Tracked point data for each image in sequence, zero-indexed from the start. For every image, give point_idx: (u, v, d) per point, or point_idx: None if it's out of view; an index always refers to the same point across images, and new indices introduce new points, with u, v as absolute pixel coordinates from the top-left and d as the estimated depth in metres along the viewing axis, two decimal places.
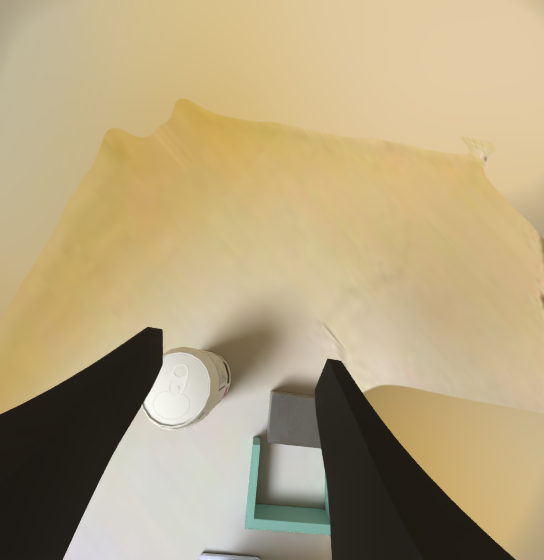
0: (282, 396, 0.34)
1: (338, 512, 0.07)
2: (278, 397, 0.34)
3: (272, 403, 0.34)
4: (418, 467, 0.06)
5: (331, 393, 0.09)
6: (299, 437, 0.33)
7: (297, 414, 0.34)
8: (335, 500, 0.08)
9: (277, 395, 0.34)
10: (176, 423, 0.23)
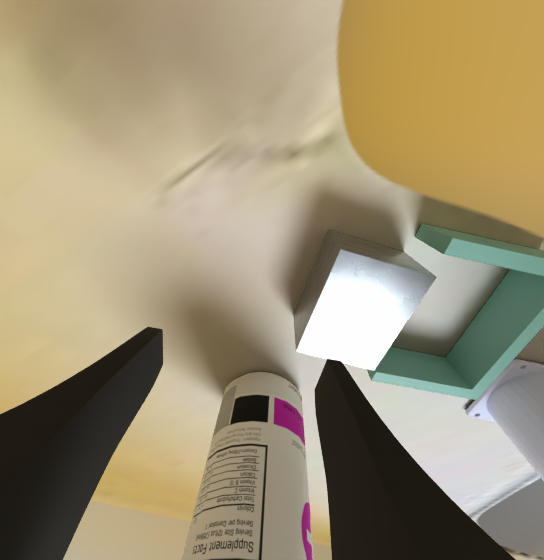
0: (305, 336, 0.16)
1: (338, 512, 0.07)
2: (305, 343, 0.17)
3: (312, 353, 0.17)
4: (418, 467, 0.06)
5: (331, 393, 0.09)
6: (389, 322, 0.16)
7: (348, 317, 0.16)
8: (335, 500, 0.08)
9: (301, 343, 0.17)
10: None
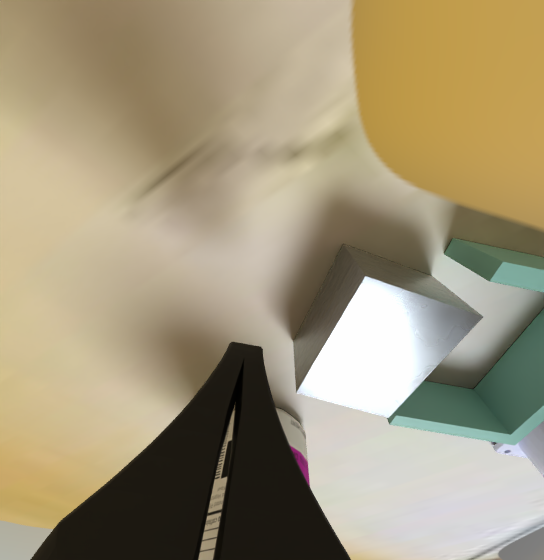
0: (309, 376, 0.13)
1: (224, 496, 0.07)
2: (308, 384, 0.13)
3: (316, 396, 0.14)
4: (286, 447, 0.06)
5: (241, 378, 0.09)
6: (415, 366, 0.13)
7: (365, 357, 0.12)
8: (226, 484, 0.07)
9: (303, 383, 0.14)
10: None
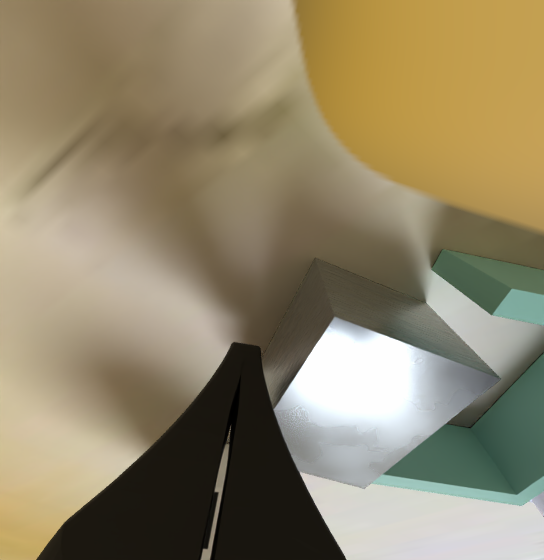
0: None
1: (221, 496, 0.07)
2: None
3: None
4: (282, 446, 0.06)
5: None
6: (402, 434, 0.09)
7: (334, 421, 0.09)
8: None
9: None
10: None
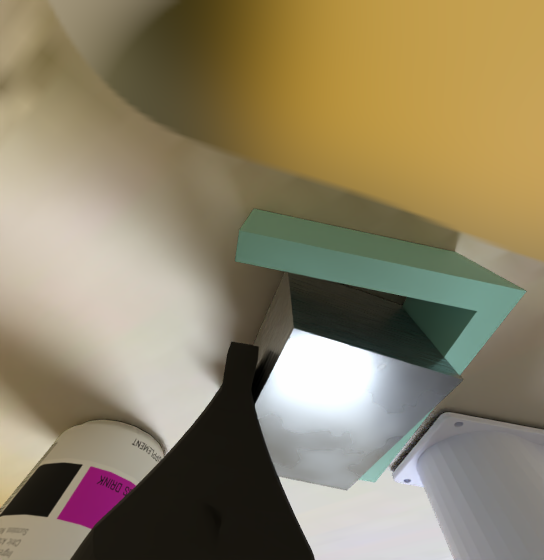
0: None
1: None
2: None
3: None
4: (260, 443, 0.06)
5: None
6: (376, 436, 0.09)
7: (308, 426, 0.09)
8: None
9: None
10: None
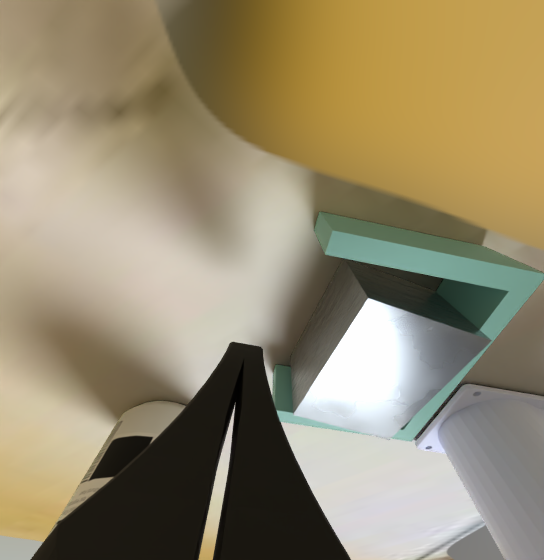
0: (306, 399, 0.12)
1: (224, 496, 0.07)
2: (305, 406, 0.13)
3: (314, 418, 0.13)
4: (286, 447, 0.06)
5: (241, 378, 0.09)
6: (419, 389, 0.12)
7: (366, 380, 0.12)
8: (226, 485, 0.07)
9: (300, 405, 0.13)
10: None
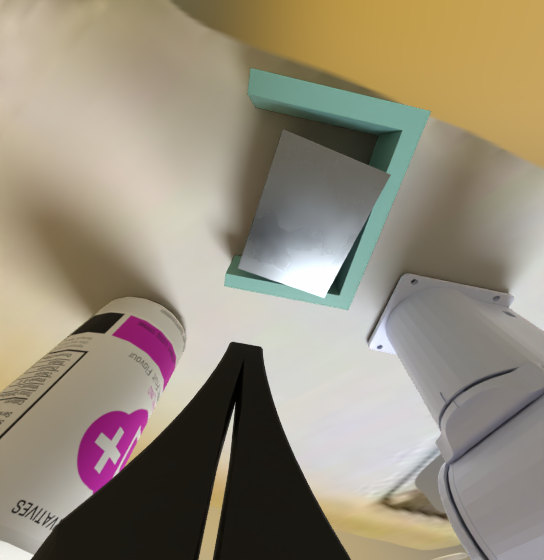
0: (247, 248, 0.15)
1: (224, 496, 0.07)
2: (247, 257, 0.15)
3: (256, 272, 0.15)
4: (286, 447, 0.06)
5: (241, 378, 0.09)
6: (340, 234, 0.14)
7: (294, 224, 0.14)
8: (226, 484, 0.07)
9: (243, 257, 0.15)
10: None
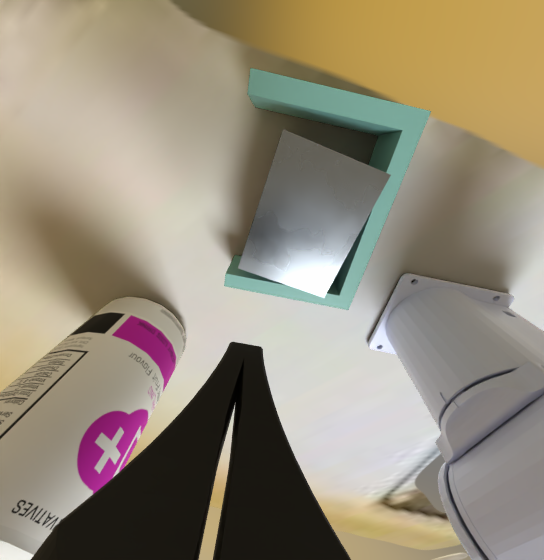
0: (247, 248, 0.15)
1: (224, 496, 0.07)
2: (247, 257, 0.15)
3: (256, 272, 0.15)
4: (286, 447, 0.06)
5: (241, 378, 0.09)
6: (340, 234, 0.14)
7: (294, 224, 0.14)
8: (226, 484, 0.07)
9: (243, 257, 0.15)
10: None
